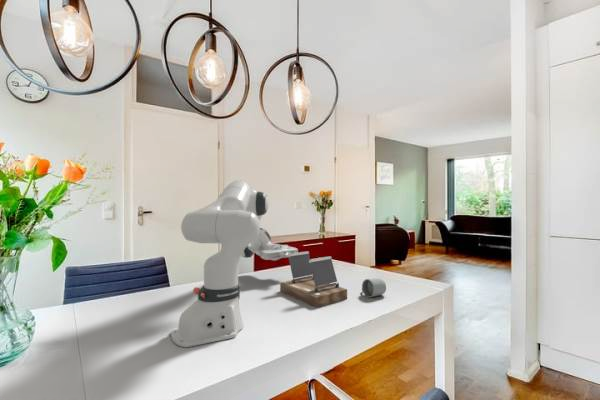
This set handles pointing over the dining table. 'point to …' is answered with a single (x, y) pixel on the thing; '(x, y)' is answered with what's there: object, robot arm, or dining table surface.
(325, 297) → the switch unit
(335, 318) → the dining table surface
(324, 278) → the lever slate
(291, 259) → the grey board
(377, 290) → the ceramic mug
